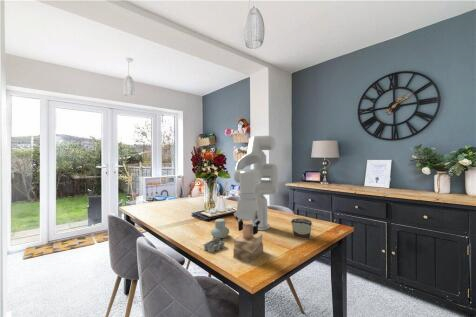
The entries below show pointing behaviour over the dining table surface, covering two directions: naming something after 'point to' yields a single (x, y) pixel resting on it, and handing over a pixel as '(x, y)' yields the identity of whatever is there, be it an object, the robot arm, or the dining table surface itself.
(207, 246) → the egg carton
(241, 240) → the tower top
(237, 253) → the tower base
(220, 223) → the air freshener
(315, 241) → the dining table surface
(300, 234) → the food container
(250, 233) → the pink rounded capsule
